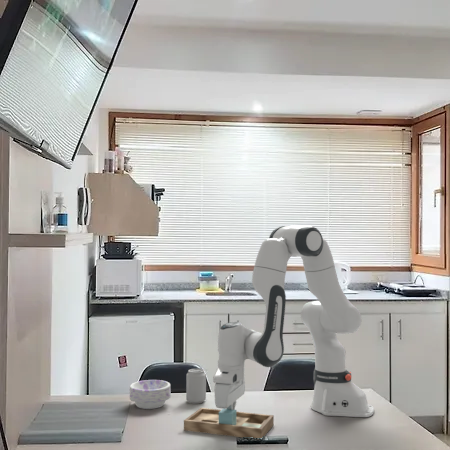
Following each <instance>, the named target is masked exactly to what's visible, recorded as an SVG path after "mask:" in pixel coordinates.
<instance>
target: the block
mask: <svg viewBox="0 0 450 450" xmlns="http://www.w3.org/2000/svg"><path fill="white" fill-rule="evenodd" d="M220 410H221V411H220V412H219V423H221V424H230V425H236V411H237V409H235V410H231V409H223V408H221V409H220Z"/></svg>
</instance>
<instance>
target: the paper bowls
mask: <svg viewBox="0 0 450 450" xmlns="http://www.w3.org/2000/svg"><path fill="white" fill-rule="evenodd" d="M171 390H172V389H171V383H170V382H168V381H166V380H162V379H161V380H160V379H148V380H147V379H145V380H138V381H135V382H132V383H131V384H130V385H129V400H130V401H132V402H134V404H135V406H136V407H137V408H139V409H144V410H154V409H159V408H161V407H163V406H164V405H165V403H166V401H168V400H169V399H171V396H172V395H171V394H172V393H171V392H172V391H171Z"/></svg>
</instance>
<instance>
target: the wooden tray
mask: <svg viewBox="0 0 450 450" xmlns="http://www.w3.org/2000/svg"><path fill="white" fill-rule="evenodd" d="M221 410H222V409H219V408H218V409H216V408H207V407H200V408H198V410H196V411H194V412H193V413H192V414H190V415H189V416H188V417H186V418H185V419H183V430H184V431H186V432H188V431H189V432H193V433H194V432H195V433H203V434H212V435H219V436H226V437H228V436H229V437H237V438H243V437H253V438H262V437H263V436H264V437H265V436H266V435H267V434H268V432H269V431H270V430H271V429H272V428H273V427H274V426H275V425H274V421H275V419H274V417H275V416H274V415H273V414H263V413H255V412H254V413H253V412H245V411H237V410H236V425H230V424H221V423H219V412H220V411H221ZM264 437H263V438H264Z"/></svg>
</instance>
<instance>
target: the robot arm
mask: <svg viewBox="0 0 450 450" xmlns="http://www.w3.org/2000/svg"><path fill="white" fill-rule="evenodd" d="M291 257H301V259H302V263H303V271H304V274H305V279H306V284H307V288H308V290H309V292H310V293H311V294H312V295H313V296H314V297H316V299H317V300H313V301H309V302H306V303H304V304H303V306H302V308H301V311H300V319H301V322H302V324H304V326H305V327H306V328H307V330H308V332H309V334H310V336H311V340H312V343H313V348H314V365H315V367H314V369H313V384H314V387H313V388H314V389H313V396H312V402H311V405H310V408H311V410H313V411H315V412H318V413H320V414H322V415H323V416H329V417H330V416H332V417H350V418H352V417H354V418H369V417H371V416H372V415H374V413H375V409H374V406H373V405H372V404H369V403H368V398H367V394H366V392H365V391H364V390H363V389H362V388H360V387H359V386H358V385H357V384H355V383H354V382H353V381H352V372H351V371H349V370H347V369H346V368H347V367H346V366H347V365H346V364H347V363H346V358H347V356H346V354H347V353H346V348H345V346H344V345H343V343H341V342H340V340H339V338H338V337H337V334H340V335H347V334H354V333H356V332H357V331H359V329H360V327H361V325H362V314H361V311H360V310H359V308H358V307H356V305H354V304H352V302H351V301H350V300H349V298H347V295H345V292H344V290H343V289H342V287H341V285H340V282H339V278H338V275H337V274H338V273H337V270H336V266H335V260H334V258H333V254H332V251H331V248H330V246H329V244H328V241H327V240H326V239H325V238H323V235H322V233H321V231H320V230H319V229H318V228H317V227H315V226H312V225H303V224H301V225H299V224H293V225H288V226H285V225H284V226H283V225H282V226H279V227H276V228H275V229H273V230H272V232H270V234H269V237H268V238H267V239H264V241H262V243H261V244H260V247H259V250H258V252H257V256H256V258H255V263H254V267H253V271H252V278H251V281H252V282H251V283H252V287H253V289H254V291H256V293H257V294H258V295H259V296H260V297H261V299H262V300H263V301H264V304H265V316H264V317H265V318H264V324H263V325H264V326H263V331H262V332H261V331H257V330H254V329H251V328H249V327H247V326H245V325H244V324H243V323H242V322H241V321H240V322H239V321H231V322H227V323H224V324H222V325H221V326H220V327H219V331H218V336H217V337H218V338H217V353H218V360H217V368H216V372H215V373H214V375H213V379H212V382H213V383H214V391H213V392H214V404H215V407H216V408H218V409H231V410H236V405H237V400H238V399H240V398H241V397H242V396H244V395H245V393H246V382H245V381H246V380H245V361H246V360H250V361H251V362H252V361H253V362H255V363H258V364H259V365H260V366H263V367H265V368H272V367H274V366H276V365H278V364H279V363H280V361H281V360H282V358H283V355H284V351H285V346H284V339H283V335H284V334H283V332H284V325H285V314H286V299H287V297H286V291H285V279H286V273H287V269H288V262H289V260H290V259H291Z"/></svg>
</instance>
